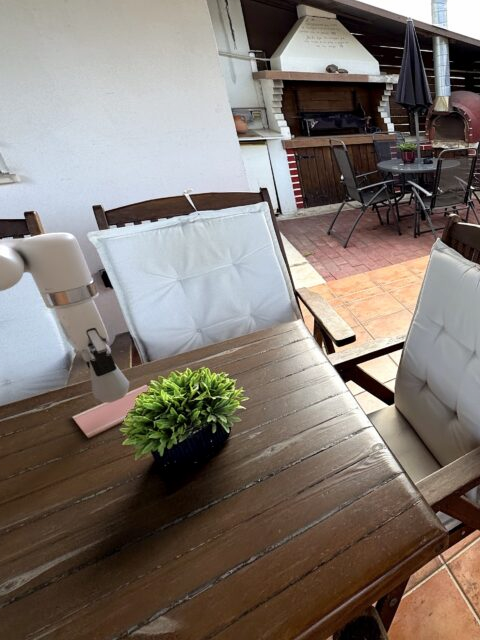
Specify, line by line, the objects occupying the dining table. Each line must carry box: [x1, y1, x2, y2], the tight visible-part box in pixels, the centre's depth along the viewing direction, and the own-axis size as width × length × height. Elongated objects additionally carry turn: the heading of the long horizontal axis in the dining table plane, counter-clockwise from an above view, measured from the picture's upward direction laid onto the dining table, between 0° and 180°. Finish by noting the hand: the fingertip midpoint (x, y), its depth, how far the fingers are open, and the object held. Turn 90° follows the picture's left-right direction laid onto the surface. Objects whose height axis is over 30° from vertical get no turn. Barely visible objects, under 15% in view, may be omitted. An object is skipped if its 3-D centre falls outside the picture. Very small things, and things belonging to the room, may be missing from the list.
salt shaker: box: [81, 344, 130, 404], centre depth 88 cm, size 6×6×13 cm
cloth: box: [72, 384, 149, 439], centre depth 91 cm, size 13×11×1 cm
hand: (102, 368), depth 87 cm, fingers closed on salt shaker, 4 cm apart
